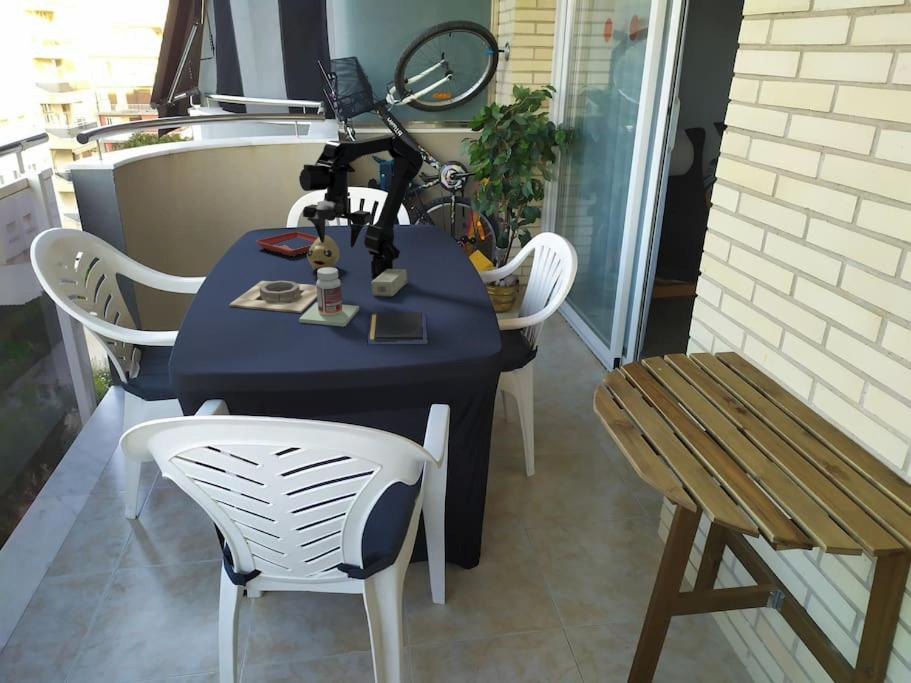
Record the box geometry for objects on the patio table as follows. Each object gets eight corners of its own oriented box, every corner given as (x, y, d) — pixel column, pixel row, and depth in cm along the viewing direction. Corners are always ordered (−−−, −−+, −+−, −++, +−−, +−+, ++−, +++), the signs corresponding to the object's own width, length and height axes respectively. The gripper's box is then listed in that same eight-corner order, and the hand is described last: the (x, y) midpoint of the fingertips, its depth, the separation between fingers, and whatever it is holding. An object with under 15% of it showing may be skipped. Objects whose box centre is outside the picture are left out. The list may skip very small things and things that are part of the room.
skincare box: (392, 296, 181) (408, 283, 191) (391, 282, 179) (407, 269, 190) (371, 296, 183) (388, 282, 193) (369, 281, 181) (387, 268, 192)
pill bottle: (346, 309, 169) (344, 268, 165) (334, 317, 164) (331, 275, 160) (326, 306, 172) (324, 265, 167) (313, 313, 166) (310, 272, 162)
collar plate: (327, 288, 187) (326, 278, 186) (300, 313, 169) (300, 302, 168) (262, 282, 190) (261, 272, 189) (229, 306, 172) (228, 295, 171)
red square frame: (296, 239, 235) (295, 230, 233) (331, 248, 225) (330, 239, 224) (255, 250, 221) (254, 240, 220) (290, 260, 212) (290, 250, 211)
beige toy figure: (302, 275, 197) (300, 241, 193) (312, 263, 208) (310, 231, 204) (334, 276, 197) (333, 242, 193) (342, 264, 208) (341, 232, 204)
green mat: (359, 309, 173) (359, 306, 172) (344, 326, 162) (344, 322, 161) (316, 305, 174) (316, 302, 174) (299, 322, 164) (299, 318, 163)
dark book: (428, 340, 153) (363, 339, 152) (428, 347, 153) (364, 347, 153) (428, 309, 171) (370, 308, 170) (428, 316, 172) (370, 315, 171)
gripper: (292, 188, 172) (293, 246, 178) (356, 197, 168) (355, 255, 174) (312, 184, 182) (312, 238, 188) (373, 191, 178) (372, 246, 184)
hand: (337, 244), depth 183 cm, fingers open, 9 cm apart
